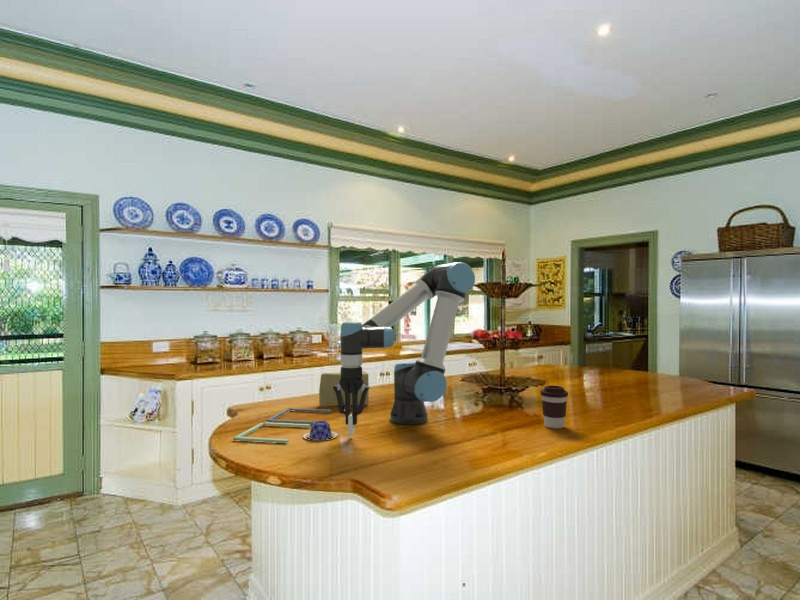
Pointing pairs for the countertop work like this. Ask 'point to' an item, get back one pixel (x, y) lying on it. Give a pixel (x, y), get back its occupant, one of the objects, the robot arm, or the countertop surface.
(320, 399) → the olive beige rectangular block
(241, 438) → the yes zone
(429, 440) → the countertop surface
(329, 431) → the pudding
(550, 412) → the coffee cup
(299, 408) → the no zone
